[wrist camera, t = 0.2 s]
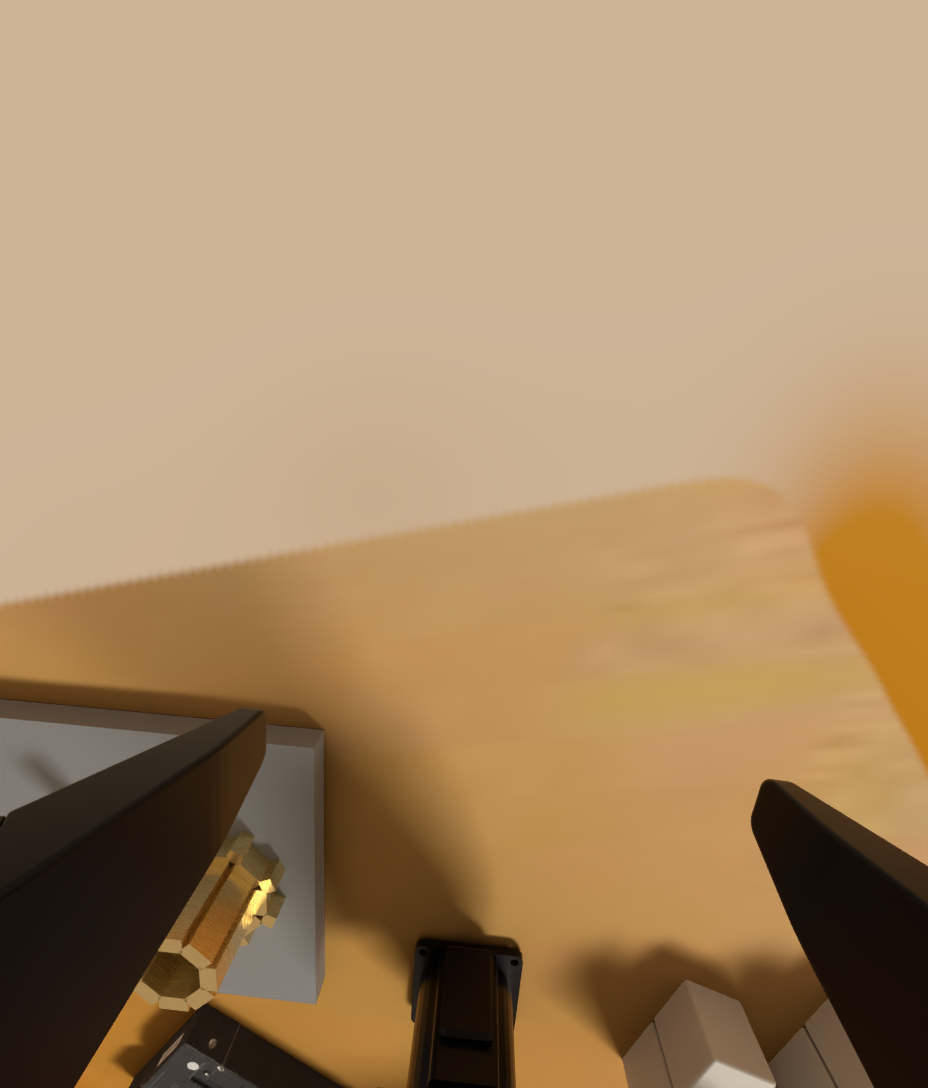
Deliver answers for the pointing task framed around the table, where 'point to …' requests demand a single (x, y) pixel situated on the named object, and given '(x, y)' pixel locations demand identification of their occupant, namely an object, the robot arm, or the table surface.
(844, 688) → the table surface
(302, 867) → the carrier plate
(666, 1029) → the puzzle cube
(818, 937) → the robot arm
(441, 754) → the table surface
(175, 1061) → the disk drive
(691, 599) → the table surface
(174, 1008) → the planet gear
